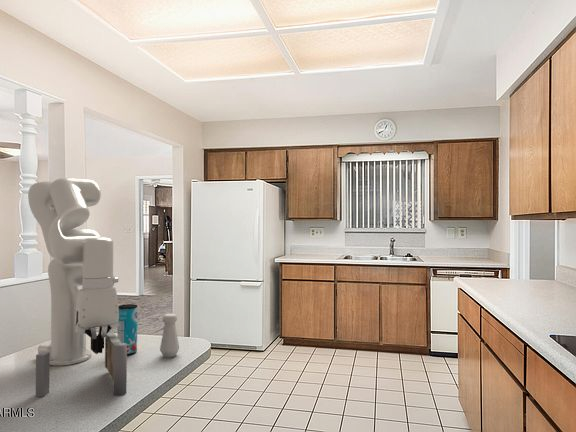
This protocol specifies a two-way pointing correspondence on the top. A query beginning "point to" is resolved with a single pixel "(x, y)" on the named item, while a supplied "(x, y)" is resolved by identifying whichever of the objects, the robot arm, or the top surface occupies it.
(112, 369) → the gate
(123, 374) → the hinge post
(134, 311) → the beverage can
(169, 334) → the salt shaker
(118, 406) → the top surface
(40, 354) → the post
